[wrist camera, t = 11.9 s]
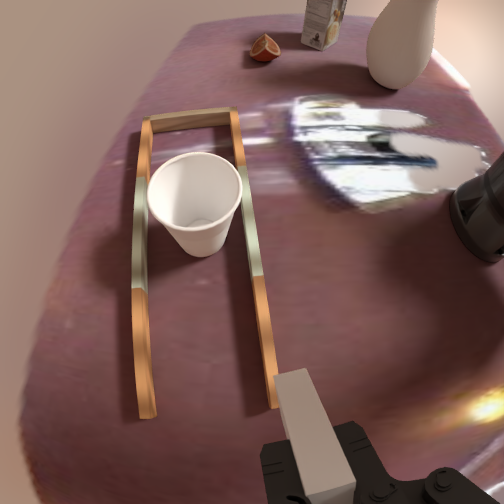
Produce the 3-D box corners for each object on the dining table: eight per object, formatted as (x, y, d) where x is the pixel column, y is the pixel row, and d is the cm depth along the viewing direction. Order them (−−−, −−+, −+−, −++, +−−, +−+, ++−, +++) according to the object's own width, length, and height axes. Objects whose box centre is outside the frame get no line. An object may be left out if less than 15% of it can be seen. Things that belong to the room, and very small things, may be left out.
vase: (366, 59, 64) (397, -42, 36) (416, 84, 61) (459, -13, 34) (349, 79, 58) (384, -41, 31) (406, 109, 56) (459, -7, 29)
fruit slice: (250, 49, 62) (251, 31, 57) (279, 51, 62) (281, 33, 57) (248, 66, 58) (249, 47, 54) (280, 69, 58) (283, 50, 54)
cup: (150, 249, 40) (127, 204, 30) (192, 193, 44) (182, 140, 34) (215, 286, 39) (208, 248, 29) (253, 224, 43) (259, 173, 33)
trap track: (279, 405, 33) (283, 407, 30) (147, 416, 32) (139, 418, 29) (236, 119, 51) (236, 106, 48) (146, 129, 49) (143, 116, 47)
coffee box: (315, 33, 67) (325, -17, 53) (337, 42, 66) (350, -9, 52) (299, 42, 64) (308, -12, 50) (322, 52, 63) (335, -4, 48)
